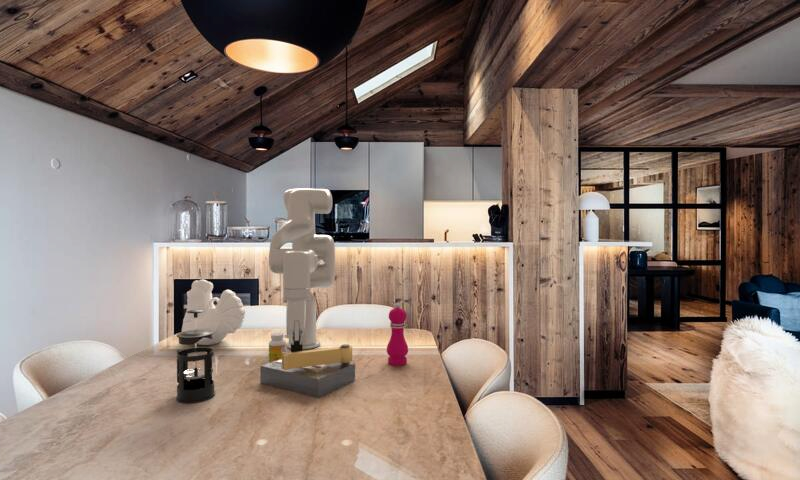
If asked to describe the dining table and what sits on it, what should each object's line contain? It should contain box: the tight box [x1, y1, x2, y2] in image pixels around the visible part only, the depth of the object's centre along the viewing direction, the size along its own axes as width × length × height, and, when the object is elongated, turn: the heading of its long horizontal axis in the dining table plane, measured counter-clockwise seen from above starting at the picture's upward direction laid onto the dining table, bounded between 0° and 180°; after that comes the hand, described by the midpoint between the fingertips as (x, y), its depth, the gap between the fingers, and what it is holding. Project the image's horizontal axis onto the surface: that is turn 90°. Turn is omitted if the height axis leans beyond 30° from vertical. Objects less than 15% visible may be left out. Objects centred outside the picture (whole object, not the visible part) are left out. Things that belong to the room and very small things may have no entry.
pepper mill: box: [386, 302, 409, 367], centre depth 145 cm, size 7×7×20 cm
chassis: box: [259, 359, 356, 399], centre depth 127 cm, size 22×16×5 cm
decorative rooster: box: [181, 278, 246, 346], centre depth 167 cm, size 25×16×25 cm, turn 65°
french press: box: [175, 309, 216, 404], centre depth 115 cm, size 12×9×23 cm
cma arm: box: [282, 343, 353, 371], centre depth 124 cm, size 20×4×5 cm, turn 115°
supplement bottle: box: [268, 332, 287, 363], centre depth 144 cm, size 5×5×10 cm
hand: (296, 357), depth 124 cm, fingers closed
